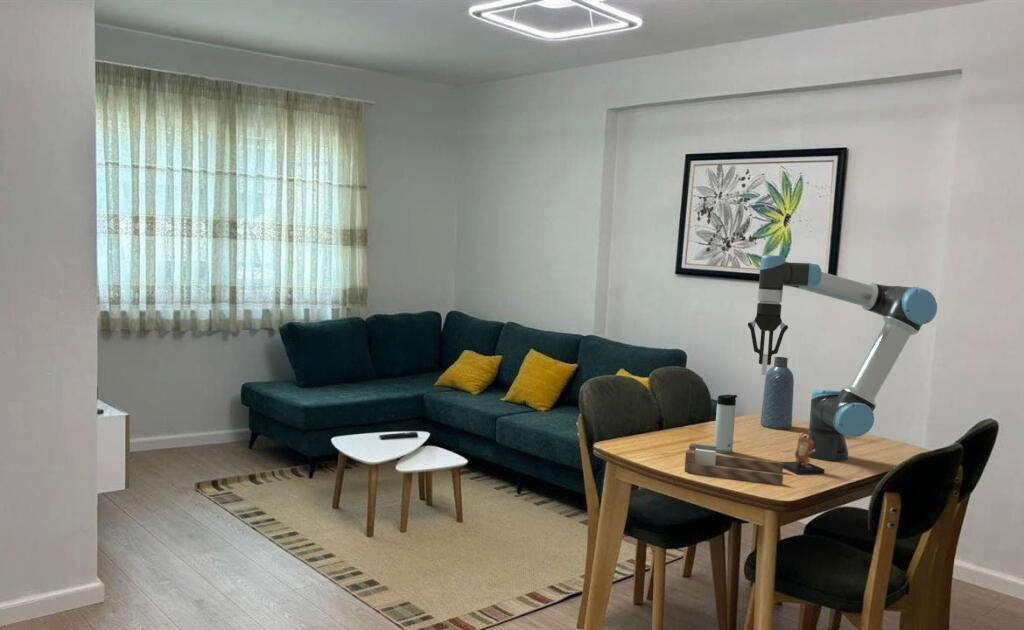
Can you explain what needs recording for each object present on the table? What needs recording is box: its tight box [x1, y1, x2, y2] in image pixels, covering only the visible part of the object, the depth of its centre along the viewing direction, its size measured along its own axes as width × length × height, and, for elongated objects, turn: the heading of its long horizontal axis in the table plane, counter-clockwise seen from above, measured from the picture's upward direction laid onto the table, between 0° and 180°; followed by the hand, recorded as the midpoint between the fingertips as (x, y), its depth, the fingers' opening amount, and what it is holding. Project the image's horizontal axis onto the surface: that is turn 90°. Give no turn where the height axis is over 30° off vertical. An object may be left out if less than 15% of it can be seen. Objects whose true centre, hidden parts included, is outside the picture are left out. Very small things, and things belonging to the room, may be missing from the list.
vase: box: [759, 356, 795, 430], centre depth 342 cm, size 12×12×28 cm
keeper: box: [694, 443, 717, 466], centre depth 267 cm, size 6×6×7 cm
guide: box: [684, 443, 784, 486], centre depth 264 cm, size 29×17×6 cm, turn 72°
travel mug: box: [713, 394, 738, 455], centre depth 292 cm, size 6×7×20 cm
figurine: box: [780, 432, 826, 476], centre depth 272 cm, size 10×10×12 cm
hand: (763, 374), depth 276 cm, fingers closed
